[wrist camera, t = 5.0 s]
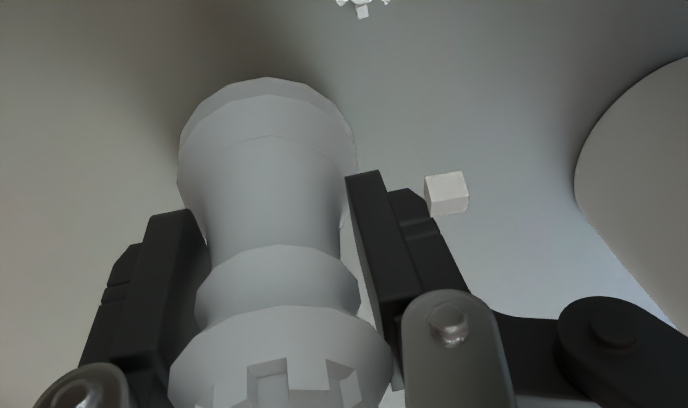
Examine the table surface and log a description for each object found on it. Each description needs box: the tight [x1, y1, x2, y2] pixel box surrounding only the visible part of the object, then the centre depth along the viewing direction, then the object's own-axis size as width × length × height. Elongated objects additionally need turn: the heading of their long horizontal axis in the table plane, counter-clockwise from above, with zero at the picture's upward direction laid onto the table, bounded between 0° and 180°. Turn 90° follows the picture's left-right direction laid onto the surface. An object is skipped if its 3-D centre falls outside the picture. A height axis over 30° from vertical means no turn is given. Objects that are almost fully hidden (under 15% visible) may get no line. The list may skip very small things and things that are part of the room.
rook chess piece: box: [167, 77, 394, 408], centre depth 10 cm, size 4×4×8 cm
